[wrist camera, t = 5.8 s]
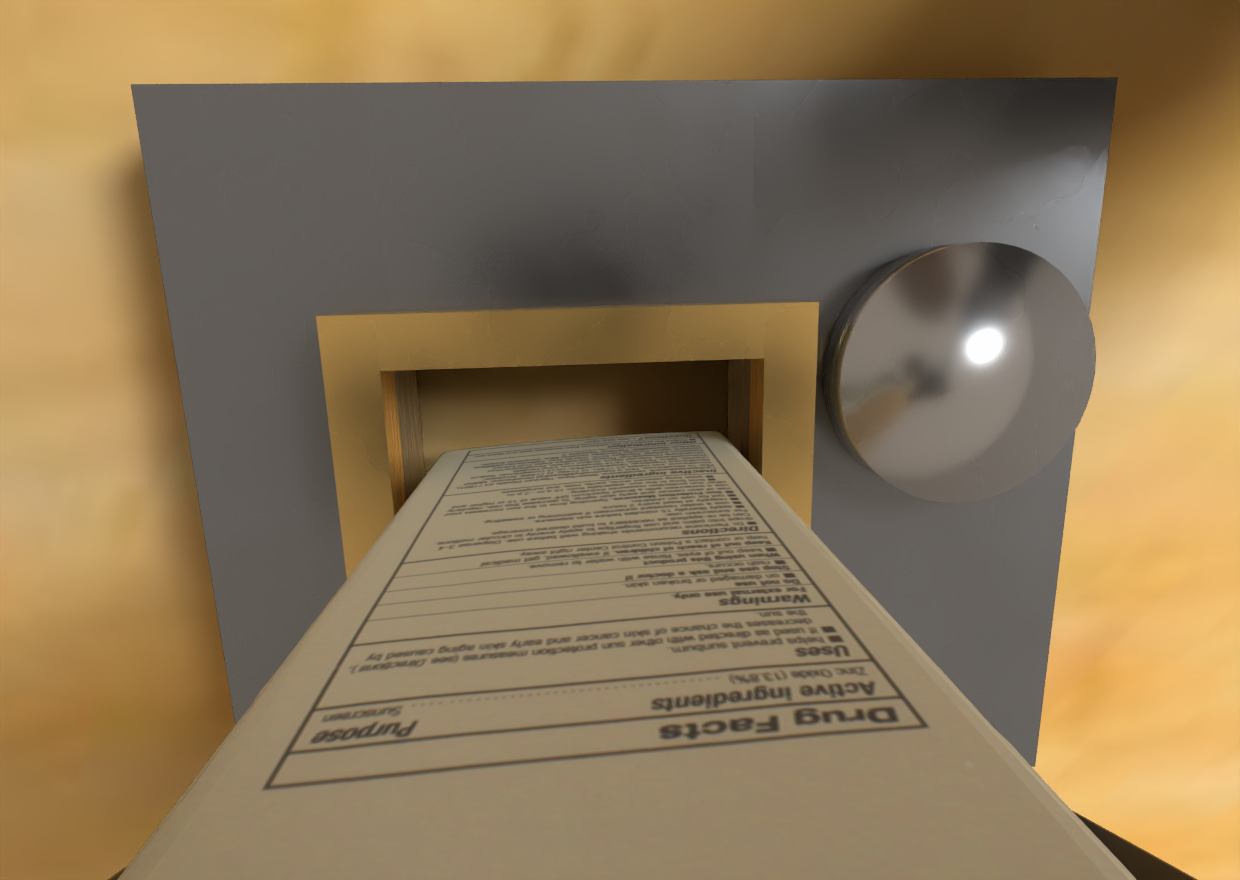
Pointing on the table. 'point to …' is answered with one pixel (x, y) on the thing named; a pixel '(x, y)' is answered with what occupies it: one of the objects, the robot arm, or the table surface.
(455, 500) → the skincare box
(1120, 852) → the robot arm
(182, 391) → the grey slotted board
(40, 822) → the table surface
